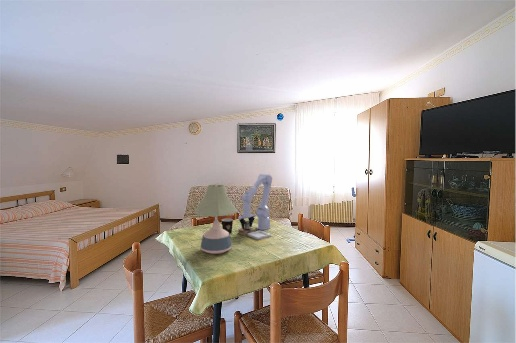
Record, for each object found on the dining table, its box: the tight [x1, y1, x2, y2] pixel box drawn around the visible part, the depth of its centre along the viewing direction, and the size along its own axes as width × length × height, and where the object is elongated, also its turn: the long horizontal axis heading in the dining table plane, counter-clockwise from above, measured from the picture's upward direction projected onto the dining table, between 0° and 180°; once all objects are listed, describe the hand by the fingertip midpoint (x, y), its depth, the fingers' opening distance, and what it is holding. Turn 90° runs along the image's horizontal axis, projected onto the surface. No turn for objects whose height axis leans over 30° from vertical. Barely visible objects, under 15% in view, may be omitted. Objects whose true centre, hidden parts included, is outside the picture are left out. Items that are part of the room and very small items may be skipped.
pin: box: [244, 220, 249, 231], centre depth 187 cm, size 4×4×9 cm
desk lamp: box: [194, 182, 239, 255], centre depth 152 cm, size 26×28×42 cm
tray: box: [247, 230, 272, 241], centre depth 180 cm, size 12×12×2 cm
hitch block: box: [237, 227, 256, 237], centre depth 187 cm, size 10×8×3 cm
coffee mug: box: [219, 218, 234, 234], centre depth 188 cm, size 12×9×10 cm
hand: (246, 227), depth 187 cm, fingers open, 6 cm apart
